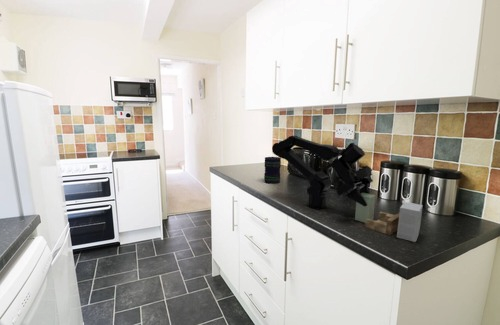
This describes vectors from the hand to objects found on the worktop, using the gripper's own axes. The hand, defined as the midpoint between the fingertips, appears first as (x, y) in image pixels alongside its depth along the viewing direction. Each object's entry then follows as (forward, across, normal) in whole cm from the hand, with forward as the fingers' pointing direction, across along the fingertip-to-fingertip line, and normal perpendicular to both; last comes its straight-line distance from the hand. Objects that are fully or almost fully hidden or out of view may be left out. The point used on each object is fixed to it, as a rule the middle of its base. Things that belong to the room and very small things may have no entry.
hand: (369, 204), depth 98 cm
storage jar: (-42, +16, +52) cm, 69 cm away
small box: (+15, -2, -6) cm, 16 cm away
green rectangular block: (+4, 0, +6) cm, 7 cm away
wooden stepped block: (+9, 0, +1) cm, 9 cm away
